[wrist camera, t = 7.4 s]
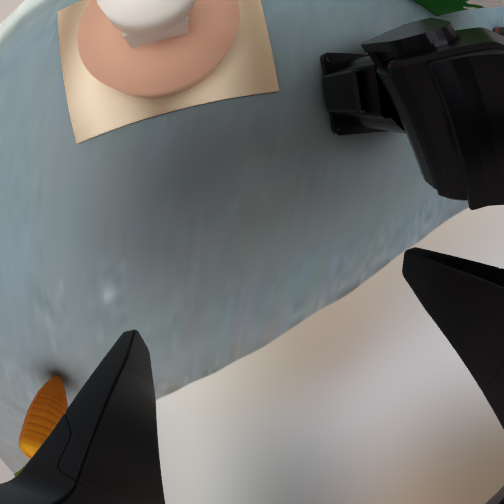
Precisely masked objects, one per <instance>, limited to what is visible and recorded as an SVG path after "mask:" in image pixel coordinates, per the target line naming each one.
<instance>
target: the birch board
mask: <svg viewBox="0 0 504 504" xmlns="http://www.w3.org/2000/svg"><path fill="white" fill-rule="evenodd" d="M91 1H92V0H82V1H79V2H77V3H75V4H73V5H70V6H68V7H66V8H64V9H62V10H60V11H58V32H59V45H60V55H61V64H62V72H63V79H64V85H65V91H66V97H67V102H68V108H69V113H70V117H71V122H72V126H73V131H74V135H75V139H76V143H81V142H83V141H85V140H88V139H90V138H93V137H95V136H98V135H100V134H103V133H106V132H108V131H111V130H114V129H117V128H120V127H122V126H125V125H128V124H131V123H134V122H137V121H141V120H144V119H147V118H150V117H154V116H157V115H161V114H164V113H168V112H172V111H175V110H179V109H183V108H187V107H192V106H196V105H200V104H205V103H210V102H214V101H219V100H225V99H230V98H236V97H242V96H248V95H255V94H262V93H270V92H277V91H279V85H278V80H277V75H276V69H275V64H274V59H273V54H272V49H271V44H270V40H269V35H268V30H267V26H266V21H265V17H264V13H263V8H262V4H261V0H238V3H239V9H240V23H239V28H238V32H237V34H236V37H235V40H234V41H233V43H232V45H231V47H230V49H229V50H228V52H227V53H226V55H225V56H224V58H223V59H222V61H221V62H220V64H219V65H218V67H217V68H216V69H215V70H214V71H213V72H212V74H210V75H209V76H208V77H207V78H206V79H205V80H203V81H202V82H201V83H199V84H198V85H196V86H194V87H193V88H191V89H189V90H187V91H184V92H182V93H180V94H176V95H173V96H169V97H164V98H155V99H147V98H138V97H133V96H130V95H127V94H124V93H122V92H120V91H117V90H115V89H113V88H111V87H109V86H107V85H105V84H103V83H101V82H100V81H98V80H97V79H96V78H95V77H93V76H92V75H91V74H90V72H89V71H88V70H87V69H86V67H85V66H84V64H83V62H82V60H81V58H80V55H79V51H78V44H77V36H78V28H79V25H80V21H81V18H82V16H83V14H84V12H85V10H86V8H87V6H88V5H89V3H90V2H91Z"/></svg>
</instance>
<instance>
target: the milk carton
mask: <svg viewBox="0 0 504 504" xmlns="http://www.w3.org/2000/svg"><path fill="white" fill-rule="evenodd" d="M415 1H416V2H418V3H419V4H421V5H422V6H424V7H425V8H427V9H428V10H430V11H431V12H432V13H434V14H435V15H437V16H439V15H443V14H447V13H452V12H456V11H461V10H466V9H475V8H487V7H504V0H415Z"/></svg>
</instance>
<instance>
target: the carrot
mask: <svg viewBox="0 0 504 504" xmlns="http://www.w3.org/2000/svg"><path fill="white" fill-rule="evenodd" d="M67 409H68V404H67V398H66V392H65V389H64V385H63V382H62V379H61V378H60V376H54V377H53V378H51V379H50V380H49V381H48V382H47V383H46V384H45V385H44V386H43V387H42V388H41V389H40V390H39V391H38V393H37V395H36V396H35V398H34V400H33V401H32V403H31V405H30V407H29V409H28V411H27V414H26V417H25V420H24V423H23V427H22V430H21V434H20V438H19V447H20V449H21V451H22V452H23V453H24V454H25V455H26V456H27V457H28V458H29V459H31V458H32V457H33V455H34V454H35V453H36V451H37V450H38V449H39V448H40V446H41V445H42V444H43V442H44V441H45V440H46V438H47V437H48V436H49V435H50V433H51V432H52V430H53V429H54V427H55V426H56V425H57V423H58V422H59V420H60V419H61V417H62V416H63V414H64V413H65V414H66V410H67ZM25 466H26V465H25ZM25 466H24V467H25ZM24 467H23V468H24ZM23 468H22V469H21V470H20V471H18V472H17V473H15V474H14V475H15V477H16V476H17V475H18V474H19V473H20V472H21V471H22V470H23Z"/></svg>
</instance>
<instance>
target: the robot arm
mask: <svg viewBox="0 0 504 504" xmlns="http://www.w3.org/2000/svg"><path fill="white" fill-rule="evenodd" d="M361 46H362V47H363V49H364V51H365V52H367V53H368V54H369V55H361V54H346V53H325V54H323V55H322V56H321V64H322V69H323V74H324V77H323V85H324V91H325V98H326V104H327V109H328V110H329V113H330V120H331V128H332V132H333V133H334V134H336V135H348V134H358V133H369V132H382V131H393V132H399V133H404V134H407V136H408V139H409V141H410V144H411V146H412V149H413V151H414V154H415V157H416V159H417V162H418V165H419V168H420V171H421V173H422V175H423V177H424V179H425V181H426V182H427V183H428V184H430V185H431V186H432V187H433V188H435V189H437V192H438V194H439V195H440V196H443V197H446V198H449V199H453V200H461V201H468V204H469V208H470V209H471V210H475V209H478V208H482V207H485V206H490V205H504V37H503V36H501V35H499V34H497V33H495V32H493V31H490V30H488V29H486V28H471V29H463V30H456V31H455V30H454V28H453V26H452V24H451V22H448V21H444V20H440V19H435V18H428V19H424V20H420V21H416V22H412V23H408V24H405V25H402V26H400V27H398V28H395V29H393V30H391V31H388V32H386V33H384V34H382V35H379V36H377V37H375V38H373V39H371V40H369V41H367V42H365V43H363V44H361ZM326 57H328V58H329V59H330V62H328V61H327V60H326ZM338 126H340V131H338V130H337V127H338ZM402 273H403V276H404V278H405V279H406V281H407V282H408V284H409V285H410V287H411V288H412V290H413V291H414V293H415V294H416V296H417V297H418V299H419V301H420V302H421V304H422V305H423V307H424V308H425V310H426V311H427V312H428V314H429V315H430V316H431V317H432V319H433V320H434V322H435V323H436V324H437V325H438V327H439V328H440V330H441V331H442V332H443V334H444V335H445V336H446V338H447V339H448V340H449V342H450V343H451V345H452V346H453V348H454V349H455V350H456V352H457V353H458V355H459V356H460V358H461V359H462V361H463V362H464V364H465V365H466V367H467V368H468V370H469V371H470V373H471V374H472V376H473V377H474V379H475V380H476V382H477V384H478V385H479V387H480V388H481V390H482V391H483V394H484V395H485V397H486V399H487V400H488V402H489V404H490V405H491V407H492V409H493V411H494V412H495V414H496V416H497V418H498V420H499V422H500V423H501V425H502V427H503V429H504V269H499V268H498V267H494V266H490V265H486V264H482V263H479V262H475V261H471V260H467V259H463V258H459V257H454V256H451V255H446V254H442V253H438V252H434V251H430V250H425V249H421V248H416V247H414V248H411V249H408V250H406V251H405V253H404V261H403V268H402ZM0 504H165V500H164V493H163V486H162V477H161V469H160V459H159V448H158V436H157V420H156V400H155V391H154V384H153V377H152V369H151V361H150V353H149V350H148V348H147V346H146V344H145V343H144V341H143V339H142V337H141V335H140V334H139V332H138V331H137V330H130V331H126V332H124V333H123V334H122V335H121V336H120V338H119V339H118V340H117V341H116V343H115V344H114V345H113V347H112V348H111V349H110V351H109V352H108V353H107V355H106V356H105V357H104V359H103V360H102V361H101V363H100V364H99V365H98V367H97V368H96V369H95V371H94V372H93V374H92V375H91V376H90V378H89V379H88V380H87V382H86V383H85V385H84V386H83V387H82V389H81V390H80V392H79V393H78V394H77V396H76V397H75V399H74V400H73V401H72V403H71V404H70V406H69V407H68V409H67V410H66V414H65V413H64V414H63V416H62V417H61V419H60V420H59V422H58V423H57V425H56V426H55V427H54V429H53V430H52V432H51V433H50V435H49V436H48V437H47V438H46V440H45V441H44V442H43V444H42V445H41V446H40V448H39V449H38V450H37V451H36V453H35V454H34V455H33V457H32V458H31V459H30V460H29V462H28V463H27V464H26V466H25V467H24V468H23V470H22V471H21V472H20V473H19V474H18V475H17V476H16V477H15V478H13V479H12V480H10V481H8V482H5V483H2V484H0ZM486 504H504V486H503V487H502V488H501V489H500V490H499V491H498V492H497V493H496V494H495V495H494V496H493V497H492V498H491V499H490V500H489V501H488V502H487V503H486Z"/></svg>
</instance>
